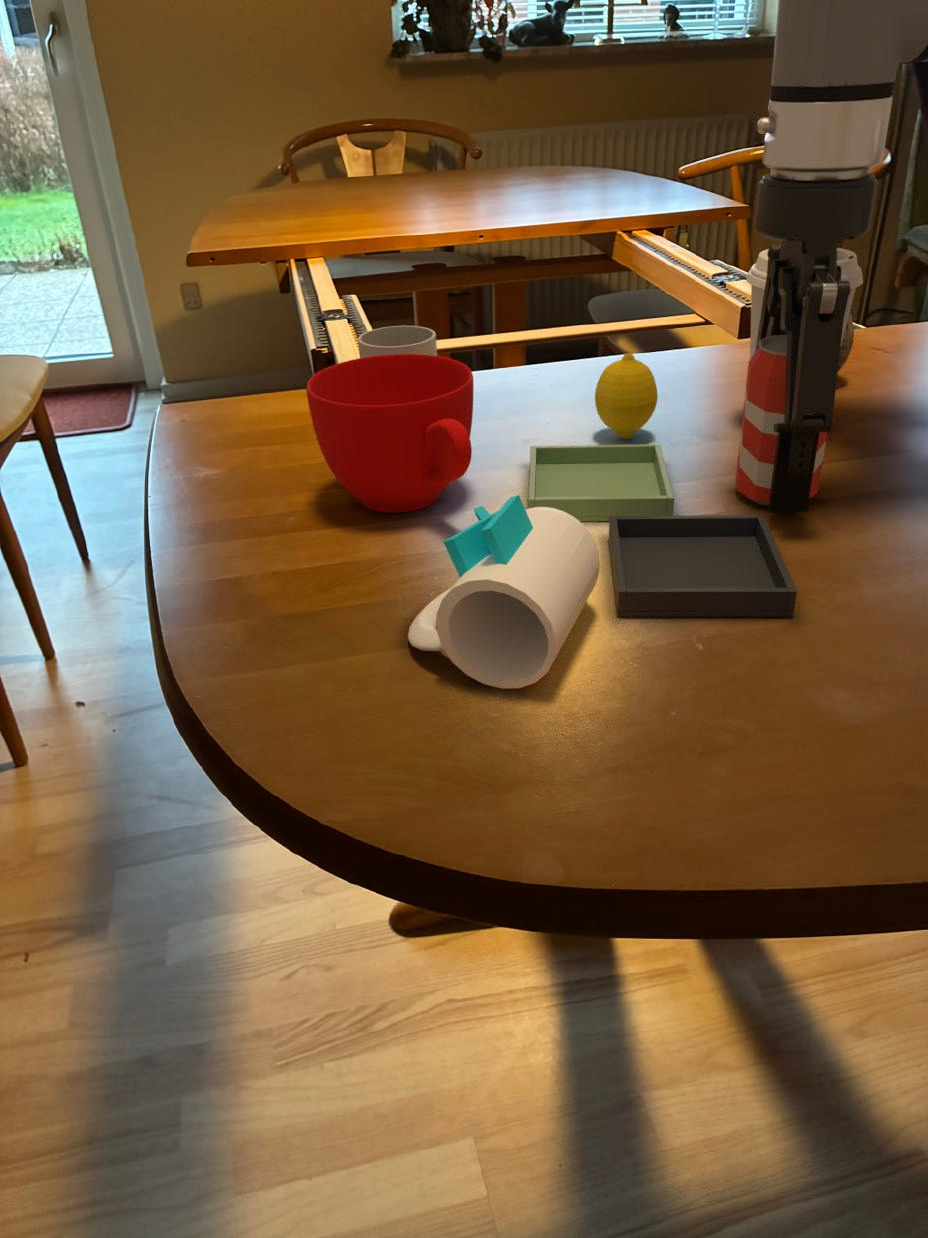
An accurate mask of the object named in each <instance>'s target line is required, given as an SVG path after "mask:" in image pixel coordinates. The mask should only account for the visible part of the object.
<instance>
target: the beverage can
mask: <svg viewBox="0 0 928 1238" xmlns="http://www.w3.org/2000/svg"><path fill="white" fill-rule="evenodd" d="M786 363H787V335H775V336H769V337H767V338H764V339H762V340H760V341H759V348H758V349H757V351H756V352H755V354H754V355H753V356H752V358H751V359H750V358H749V361H748V365H747V372H746V373H747V375H746V381H745V392H744V399H743V409H742V419H741V428H740V436H739V446H738V455H737V464H736V471H735V472H736V473H735V486H736V491H737V492H738V493H740V494H742V495H744V496H745V498H746V499H748V500H749V501H752V502H754V503H755V504H757V505H761V506H766V507H767V506H768V505H769V498H770V490H771V483H772V475H773V468H774V461H775V453H776V446H777V438H778V432H774V424H777V423H783V422H784V418H785V391H786ZM806 415H808V414H806ZM827 438H828V432H820V433H819V439H818V446H817V452H816V458H815V464H814V471H813V477H812V483H811V490H810V496H809V499H811V498H812V497H814V496H815V495H817V494H818V493H819V488H820V480H821V476H822V475H821V474H822V470H823V469H822V468H823V463H824V455H825V450H826V444H827Z"/></svg>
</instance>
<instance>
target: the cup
mask: <svg viewBox="0 0 928 1238" xmlns="http://www.w3.org/2000/svg"><path fill="white" fill-rule="evenodd" d="M357 344H358V345H357V346H358V355H359V358H364V357H371V356H379V355H391V354H424V355H433V356H438V348H437V332H435V330H433V329H431V328H429V327H424V326H418V325H393V326H384V327H379V328H375V329H371V330H368V331H365V332H363V333H362V334H360V335H359V336H358V337H357Z"/></svg>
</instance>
